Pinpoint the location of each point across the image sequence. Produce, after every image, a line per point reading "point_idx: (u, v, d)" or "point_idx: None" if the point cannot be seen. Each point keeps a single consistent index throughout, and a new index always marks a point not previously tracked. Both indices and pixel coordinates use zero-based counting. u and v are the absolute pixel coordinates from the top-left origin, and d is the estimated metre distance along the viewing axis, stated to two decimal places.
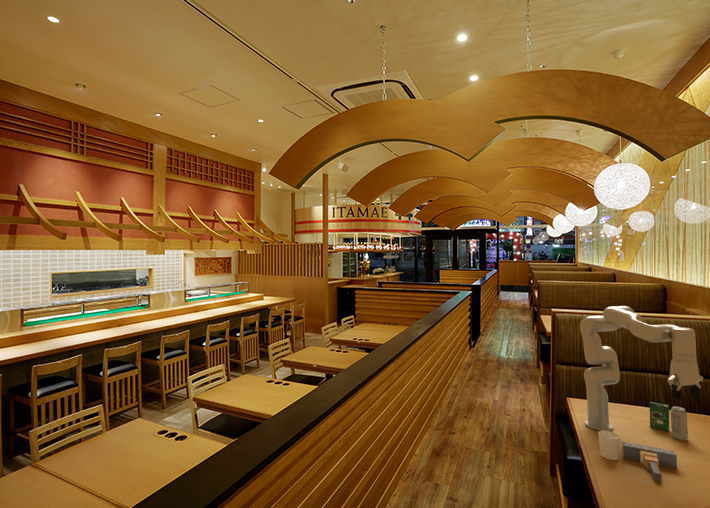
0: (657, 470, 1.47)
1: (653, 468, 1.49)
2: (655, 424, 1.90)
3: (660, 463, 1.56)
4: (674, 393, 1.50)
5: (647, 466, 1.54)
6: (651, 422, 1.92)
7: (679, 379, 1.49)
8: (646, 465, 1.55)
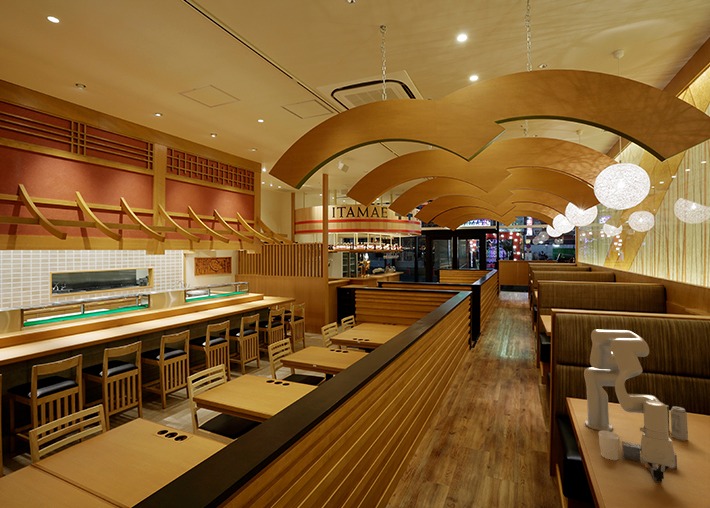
0: None
1: None
2: None
3: None
4: None
5: (647, 466, 1.55)
6: None
7: None
8: (646, 465, 1.55)
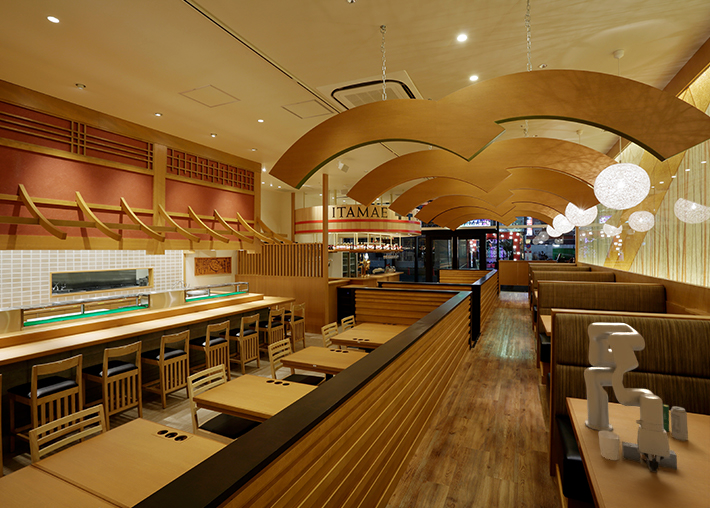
0: None
1: None
2: None
3: (660, 463, 1.56)
4: None
5: (643, 457, 1.61)
6: None
7: None
8: (642, 456, 1.62)
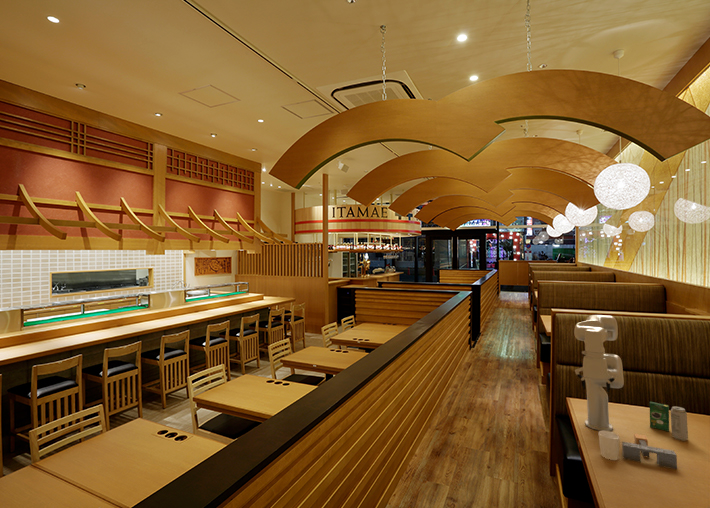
0: None
1: None
2: (655, 424, 1.90)
3: (660, 463, 1.56)
4: (610, 386, 1.74)
5: None
6: (651, 422, 1.92)
7: None
8: (636, 443, 1.73)
